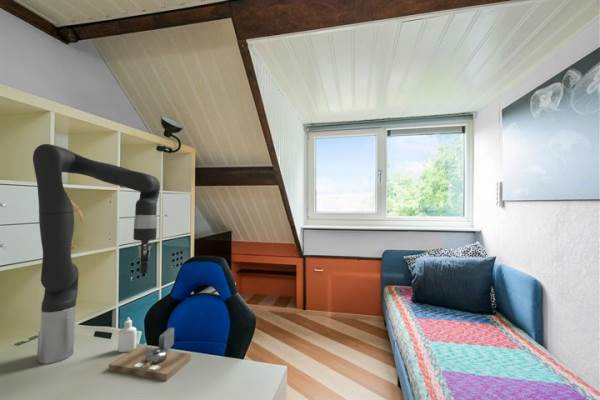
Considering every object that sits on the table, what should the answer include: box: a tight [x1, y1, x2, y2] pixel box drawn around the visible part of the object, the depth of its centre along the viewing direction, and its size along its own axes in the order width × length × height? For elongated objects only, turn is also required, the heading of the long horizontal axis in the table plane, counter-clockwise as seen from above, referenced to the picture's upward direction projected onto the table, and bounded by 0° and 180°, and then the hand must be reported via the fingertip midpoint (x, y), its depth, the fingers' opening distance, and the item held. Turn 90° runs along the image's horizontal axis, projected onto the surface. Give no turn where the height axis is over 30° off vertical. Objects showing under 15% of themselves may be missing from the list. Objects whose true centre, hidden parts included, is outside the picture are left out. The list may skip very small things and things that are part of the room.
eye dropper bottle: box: [117, 317, 138, 353], centre depth 101 cm, size 4×6×12 cm
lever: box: [145, 327, 175, 367], centre depth 93 cm, size 6×16×6 cm, turn 178°
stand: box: [108, 345, 192, 381], centre depth 91 cm, size 22×12×2 cm, turn 77°
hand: (143, 273), depth 100 cm, fingers closed
